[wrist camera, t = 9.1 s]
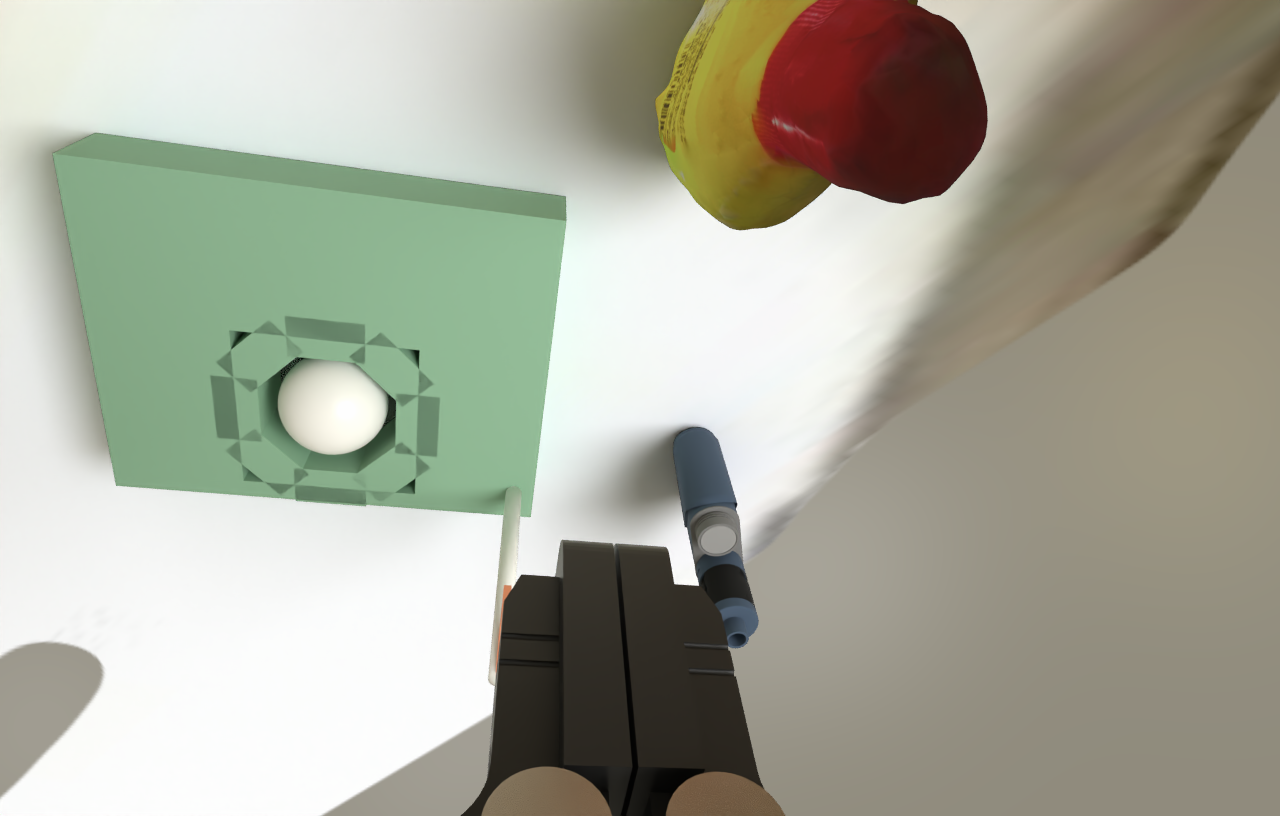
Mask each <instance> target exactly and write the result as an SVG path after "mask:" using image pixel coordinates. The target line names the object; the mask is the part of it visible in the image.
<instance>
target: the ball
mask: <svg viewBox="0 0 1280 816" xmlns="http://www.w3.org/2000/svg"><path fill="white" fill-rule="evenodd" d="M278 411H279V416H280V419H281V421H282V424H283V426H284V427H285V429H286V431H287V432H288V433H289V435H290V436H291V437H292V438H293V439H294V440H295V441H296V442H298V443H299V444H300V445H302V446H303V447H305V448H307V449H309V450H311V451H314V452H317V453H321V454H327V455H338V454H345V453H349V452H352V451H355V450H357V449H359V448H361V447H363V446H365V445H366V444H368V443H369V442H370V441H371V440H372V439H373V438H374V437H375V436H376V435H377V434H378V432H379V431H380V430H381V428H382V426H383V424H384V422H385V419H386V416H387V412H388V394H387V392H386V391H385V390H384V389H383V388H382V387H381V386H380V385H379V384H378V383H377V382H375V381H374V380H373V379H372V378H371V377H370V376H369V375H368V374H367V373H366V372H365V371H364V370H363V369H362V368H361V367H360V366H358V365H357V364H356V363H351V362H341V361H331V360H321V359H311V358H304V359H303V360H301V361H299V362H298V363H297V364H296V365H295V366H294V367H293V368H292V369H291V370H290V371H289V372H288V374H287V375H286V376H285V378H284V380H283V382H282V384H281V387H280V390H279V394H278Z"/></svg>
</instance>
